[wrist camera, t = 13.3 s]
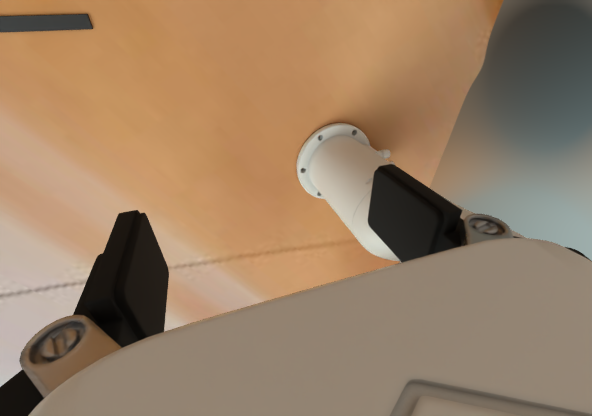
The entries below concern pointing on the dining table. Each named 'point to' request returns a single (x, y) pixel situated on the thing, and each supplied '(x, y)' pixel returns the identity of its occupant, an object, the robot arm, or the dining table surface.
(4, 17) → the tape bay
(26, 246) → the dining table surface
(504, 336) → the robot arm
